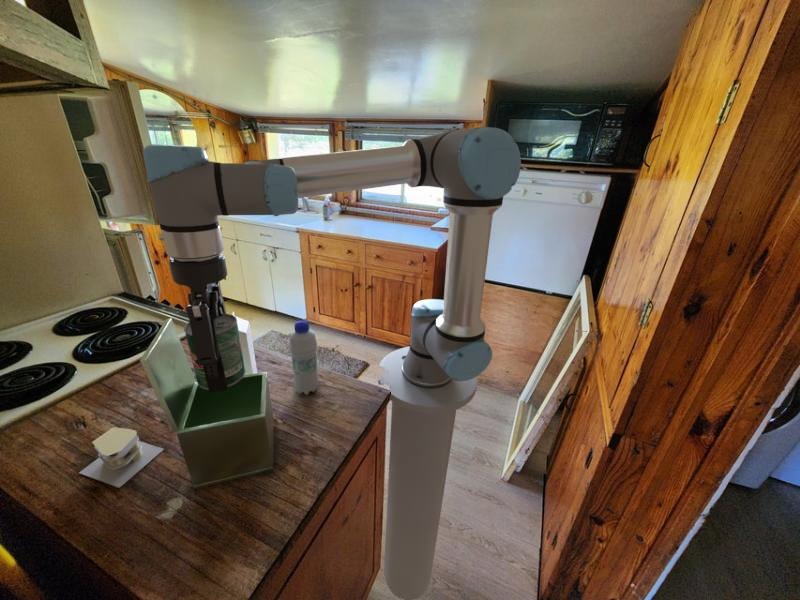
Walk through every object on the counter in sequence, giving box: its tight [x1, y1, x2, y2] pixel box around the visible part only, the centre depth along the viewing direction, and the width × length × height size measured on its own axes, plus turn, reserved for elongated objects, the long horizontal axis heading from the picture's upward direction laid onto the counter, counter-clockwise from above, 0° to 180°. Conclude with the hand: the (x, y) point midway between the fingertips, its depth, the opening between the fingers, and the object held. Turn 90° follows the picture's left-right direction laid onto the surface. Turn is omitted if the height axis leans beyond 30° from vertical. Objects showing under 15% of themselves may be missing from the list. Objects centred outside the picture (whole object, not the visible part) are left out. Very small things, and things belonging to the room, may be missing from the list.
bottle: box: [288, 320, 320, 396], centre depth 82 cm, size 7×7×20 cm
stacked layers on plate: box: [78, 426, 165, 488], centre depth 63 cm, size 10×9×6 cm
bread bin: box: [176, 371, 275, 490], centre depth 64 cm, size 14×14×14 cm
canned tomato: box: [183, 313, 246, 390], centre depth 57 cm, size 8×8×11 cm
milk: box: [231, 310, 258, 375], centre depth 79 cm, size 6×6×22 cm
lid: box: [139, 317, 197, 433], centre depth 56 cm, size 14×14×1 cm
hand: (222, 375), depth 59 cm, fingers closed on canned tomato, 8 cm apart
